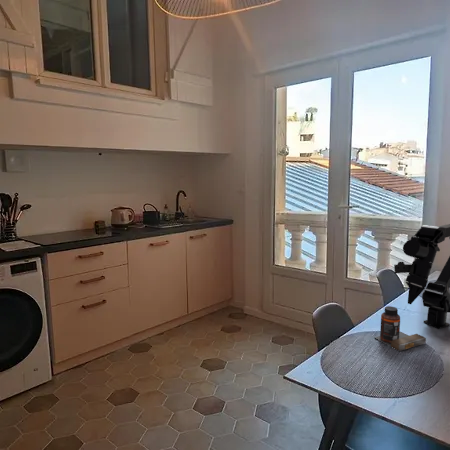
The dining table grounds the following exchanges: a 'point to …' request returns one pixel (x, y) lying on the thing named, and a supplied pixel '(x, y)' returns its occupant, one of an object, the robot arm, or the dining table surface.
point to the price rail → (408, 342)
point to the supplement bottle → (390, 324)
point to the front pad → (390, 343)
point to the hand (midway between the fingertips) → (409, 302)
